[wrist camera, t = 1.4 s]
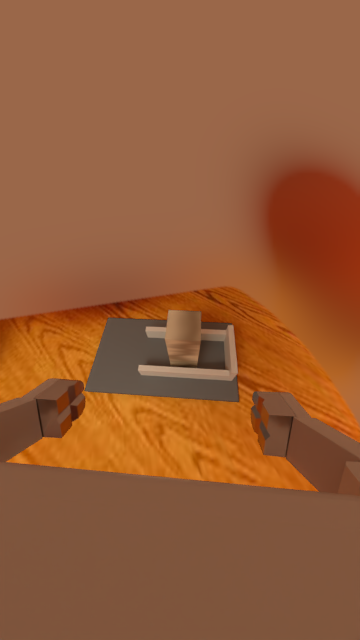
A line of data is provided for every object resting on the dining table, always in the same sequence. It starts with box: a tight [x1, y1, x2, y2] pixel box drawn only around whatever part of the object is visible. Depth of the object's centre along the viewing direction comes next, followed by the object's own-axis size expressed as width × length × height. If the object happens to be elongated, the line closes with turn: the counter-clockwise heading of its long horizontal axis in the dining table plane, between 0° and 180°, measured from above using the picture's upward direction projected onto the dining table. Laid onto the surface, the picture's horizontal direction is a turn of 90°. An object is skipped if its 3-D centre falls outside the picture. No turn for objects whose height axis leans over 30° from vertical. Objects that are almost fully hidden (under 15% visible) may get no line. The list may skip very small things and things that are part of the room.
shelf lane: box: [85, 318, 239, 402], centre depth 36 cm, size 28×16×6 cm, turn 86°
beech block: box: [165, 310, 201, 368], centre depth 32 cm, size 5×5×12 cm
